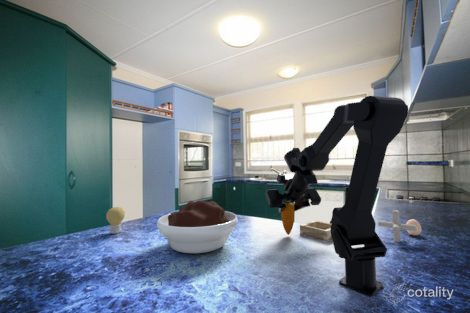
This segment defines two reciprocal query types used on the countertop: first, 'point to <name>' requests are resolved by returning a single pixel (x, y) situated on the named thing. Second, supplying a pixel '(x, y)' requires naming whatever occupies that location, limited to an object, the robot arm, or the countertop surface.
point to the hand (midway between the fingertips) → (286, 211)
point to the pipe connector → (396, 226)
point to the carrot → (288, 217)
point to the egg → (418, 227)
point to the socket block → (316, 230)
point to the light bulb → (115, 219)
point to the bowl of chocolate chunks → (197, 227)
